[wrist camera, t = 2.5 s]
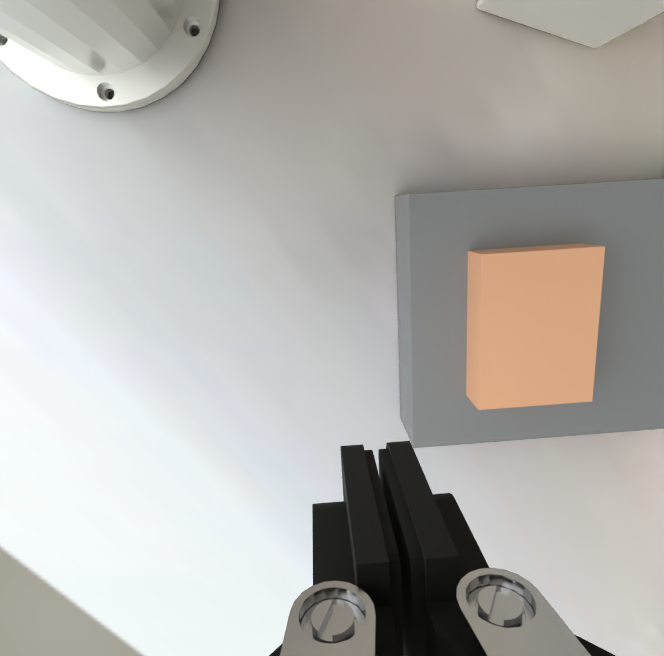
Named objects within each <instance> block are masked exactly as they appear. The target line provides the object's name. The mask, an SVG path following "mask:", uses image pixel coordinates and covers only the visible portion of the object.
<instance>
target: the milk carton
mask: <svg viewBox="0 0 664 656" xmlns="http://www.w3.org/2000/svg"><path fill="white" fill-rule="evenodd" d="M477 8H478V9H479V10H482V11H485V12H488V13H491V14H494V15H497V16H500V17H503V18H506V19H509V20H512V21H515V22H518V23H520V24H523V25H526V26H529V27H532V28H535V29H538V30H541V31H544V32H547V33H550V34H553V35H556V36H559V37H562V38H565V39H568V40H571V41H574V42H577V43H580V44H583V45H586V46H589V47H592V48H595V49H596V48H599V47H600V46H602V45H604V44H606V43H608V42H610V41H611V40H613V39H615V38H617V37H619V36H621V35H622V34H624V33H626V32H628V31H630V30H632V29H633V28H635V27H637V26H639V25H641V24H642V23H644V22H646V21H648V20H650V19H652V18H653V17H655V16H657V15H659V14H661V13H663V12H664V0H478V3H477Z"/></svg>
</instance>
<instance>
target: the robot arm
mask: <svg viewBox="0 0 664 656" xmlns="http://www.w3.org/2000/svg"><path fill="white" fill-rule="evenodd" d="M219 1H220V0H0V61H1V62H2V63H3V64H4V65H5V66H6V67H7V68H8V69H9V70H10V72H12V73H13V74H14V75H16V76H17V77H18V78H20V79H21V80H22V81H24V82H25V83H26V84H28V85H29V86H30V87H32V88H33V89H35V90H37V91H39V92H41V93H43V94H45V95H47V96H49V97H51V98H53V99H55V100H58V101H60V102H63V103H65V104H68V105H71V106H73V107H77V108H82V109H87V110H92V111H98V112H121V111H126V110H130V109H135V108H140V107H144V106H146V105H148V104H150V103H152V102H155V101H157V100H159V99H161V98H163V97H165V96H166V95H167V94H169V93H170V92H171V91H173V90H174V89H175V88H177V87H178V86H180V85H181V84H182V83H183V82H184V80H185V79H186V78H187V77H188V76H189V75H190V74H191V73H192V71H193V70H194V69H195V68H196V67H197V65H198V63H199V61H200V60H201V58H202V56H203V55H204V53H205V51H206V49H207V48H208V45H209V42H210V39H211V37H212V34H213V31H214V28H215V25H216V20H217V14H218V7H219ZM194 28H198V29H199V30H200V33H199V34H198V35H197V36H192V35H191V31H192V30H193V29H194ZM7 38H8V41H7V43H6V44H5V40H6V39H7ZM110 91H114V97H113V98H112V100H110V99H109V97H108V93H109V92H110ZM341 463H342V479H343V496H344V502H331V503H318V504H313V586H311V587H310V588H308V589H307V590H305V591H304V592H302V593H301V594H300V596H299V597H298V598H297V599H296V600H295V601H294V604H293V606H292V608H291V611H290V614H289V618H288V623H287V627H286V631H285V636H284V640H283V643H282V644H281V645H280V646H279V647H278V648H277V649H276V650H275V651H274V652H273V653H272V654H271V655H269V656H615V655H613V654H611V653H609V652H607V651H606V650H604V649H602V648H600V647H598V646H596V645H594V644H592V643H590V642H588V641H586V640H584V639H582V638H580V637H578V636H576V635H574V634H573V633H572V631H571V630H570V629H569V628H568V626H567V625H566V624H565V623H564V621H563V620H562V619H561V618H560V616H559V615H558V614H557V613H556V611H555V610H554V609H553V608H552V606H551V605H550V604H549V603H548V601H547V600H546V599H545V598H544V596H543V595H542V594H541V593H540V592H539V590H538V589H537V588H536V587H535V586H533V585H532V584H531V583H530V582H529V581H528V580H526V579H524V578H523V577H521V576H519V575H518V574H515V573H512V572H510V571H507V570H503V569H496V568H489V566H488V564H487V562H486V560H485V558H484V556H483V554H482V552H481V550H480V548H479V546H478V544H477V542H476V540H475V538H474V536H473V534H472V532H471V530H470V528H469V526H468V524H467V522H466V520H465V518H464V516H463V514H462V512H461V510H460V508H459V506H458V504H457V502H456V500H455V498H454V497H453V495H452V494H450V493H445V494H432V492H431V489H430V487H429V485H428V482H427V480H426V478H425V475H424V473H423V471H422V468H421V466H420V464H419V461H418V459H417V457H416V454H415V452H414V450H413V447H412V445H411V443H410V441H403V442H390V443H387V444H386V449H379V474H378V470H377V466H376V462H375V459H374V455H373V451H372V450H364V447H363V445H350V446H341Z"/></svg>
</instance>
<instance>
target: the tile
mask: <svg viewBox="0 0 664 656" xmlns="http://www.w3.org/2000/svg"><path fill="white" fill-rule="evenodd" d="M604 255H605V246H598V245H591V244H583V243H579V244H564V245H548V246H533V247H518V248H502V249H487V250H472V251H468V279H467V363H466V396H467V397H468V398H469V399H470V400H471V402H472V403H473V404H474V405H475V406H476V408H477V409H478V410H487V409H500V408H513V407H526V406H539V405H552V404H566V403H579V402H592V399H593V387H594V375H595V363H596V351H597V339H598V327H599V315H600V303H601V291H602V279H603V267H604Z"/></svg>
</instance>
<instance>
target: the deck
mask: <svg viewBox="0 0 664 656" xmlns="http://www.w3.org/2000/svg"><path fill="white" fill-rule="evenodd" d="M395 221H396V260H397V299H398V338H399V378H400V417H401V420H402V422H403V425H404V427H405V429H406V432H407V434H408V436H409V439H410V441H411V443H412V445H413V448H420V447H433V446H446V445H459V444H471V443H484V442H497V441H510V440H523V439H535V438H548V437H561V436H574V435H587V434H599V433H612V432H625V431H638V430H651V429H663V428H664V178H662V179H645V180H629V181H612V182H596V183H580V184H563V185H547V186H531V187H514V188H498V189H481V190H465V191H449V192H432V193H416V194H404V195H396V196H395ZM579 243H583V244H591V245H598V246H605V255H604V267H603V279H602V291H601V303H600V315H599V327H598V339H597V351H596V363H595V375H594V387H593V399H592V402H579V403H566V404H552V405H539V406H526V407H513V408H500V409H487V410H478V409H477V408H476V406H475V405H474V404H473V403H472V402H471V400H470V399H469V398H468V397H467V396H466V363H467V279H468V251H472V250H487V249H502V248H518V247H533V246H548V245H564V244H579Z"/></svg>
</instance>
